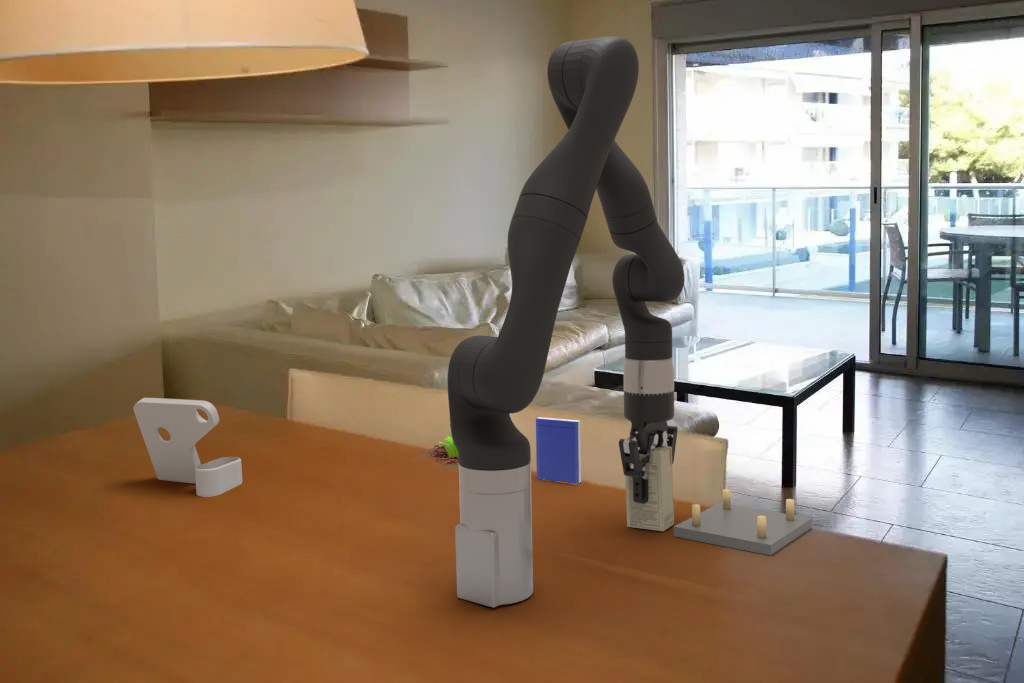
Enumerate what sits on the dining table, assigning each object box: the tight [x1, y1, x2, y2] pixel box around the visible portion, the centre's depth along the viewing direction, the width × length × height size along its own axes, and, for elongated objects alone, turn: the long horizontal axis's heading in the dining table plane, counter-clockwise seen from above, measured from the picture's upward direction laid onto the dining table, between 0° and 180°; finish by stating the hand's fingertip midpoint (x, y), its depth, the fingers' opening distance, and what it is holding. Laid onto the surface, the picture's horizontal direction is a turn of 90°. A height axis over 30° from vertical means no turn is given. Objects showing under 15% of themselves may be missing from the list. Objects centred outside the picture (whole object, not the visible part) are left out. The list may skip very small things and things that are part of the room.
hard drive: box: [535, 416, 582, 484], centre depth 170 cm, size 2×8×12 cm, turn 61°
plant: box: [417, 417, 459, 471], centre depth 187 cm, size 20×20×11 cm
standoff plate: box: [673, 488, 813, 556], centre depth 143 cm, size 15×15×4 cm
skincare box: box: [624, 447, 675, 532], centre depth 147 cm, size 6×4×12 cm
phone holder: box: [133, 397, 243, 498], centre depth 170 cm, size 17×10×18 cm, turn 70°
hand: (649, 498), depth 147 cm, fingers closed on skincare box, 4 cm apart
